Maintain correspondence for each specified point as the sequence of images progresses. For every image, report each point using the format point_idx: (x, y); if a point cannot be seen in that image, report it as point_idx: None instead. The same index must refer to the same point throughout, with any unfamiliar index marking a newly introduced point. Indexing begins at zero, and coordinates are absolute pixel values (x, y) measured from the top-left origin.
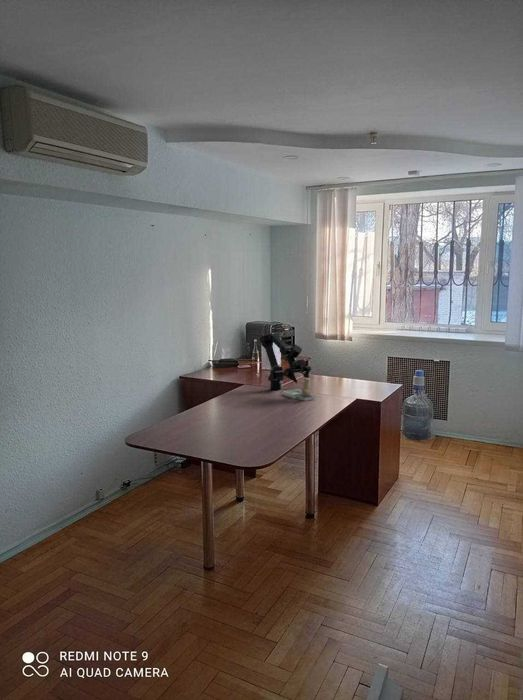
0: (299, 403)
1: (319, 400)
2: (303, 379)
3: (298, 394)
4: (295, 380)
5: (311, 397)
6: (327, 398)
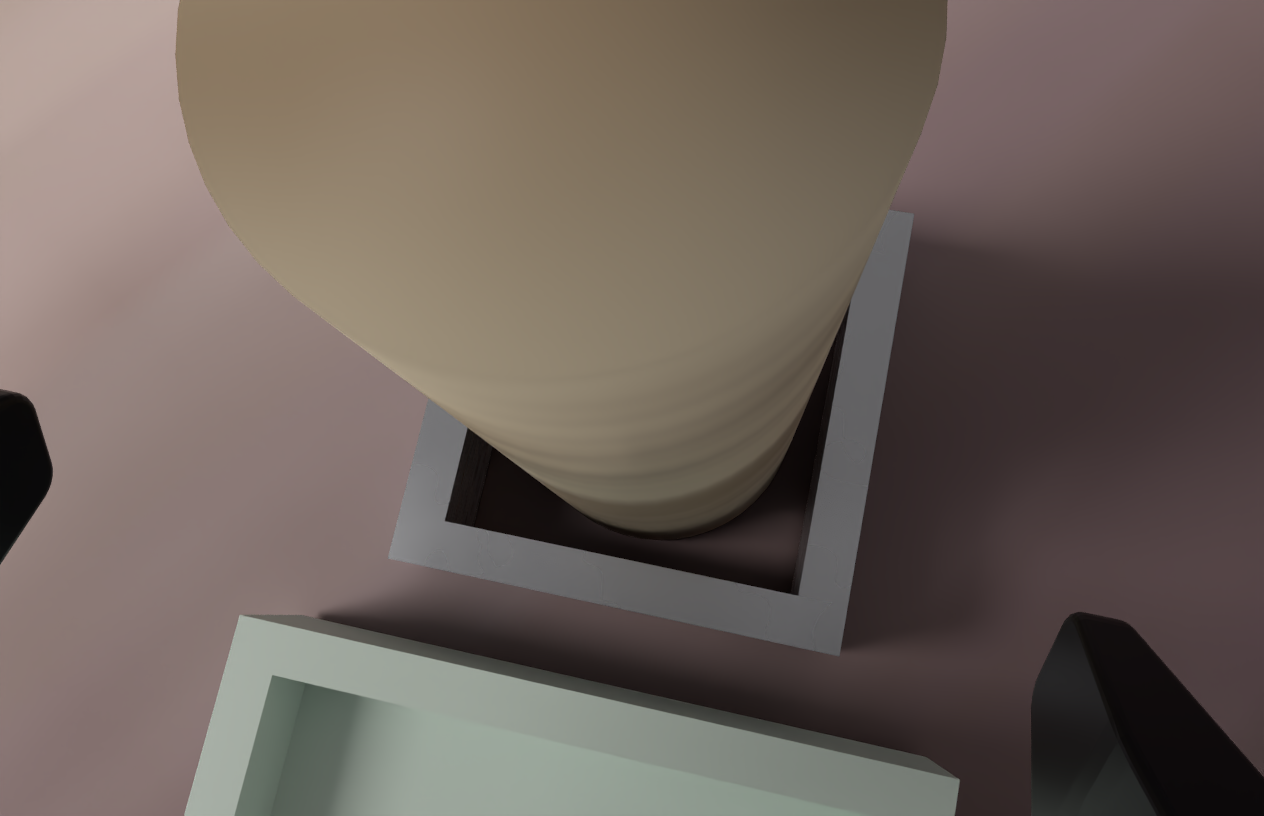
0: (1223, 177)
1: None
2: (939, 7)
3: (702, 720)
4: (1229, 801)
5: None
6: (98, 84)
